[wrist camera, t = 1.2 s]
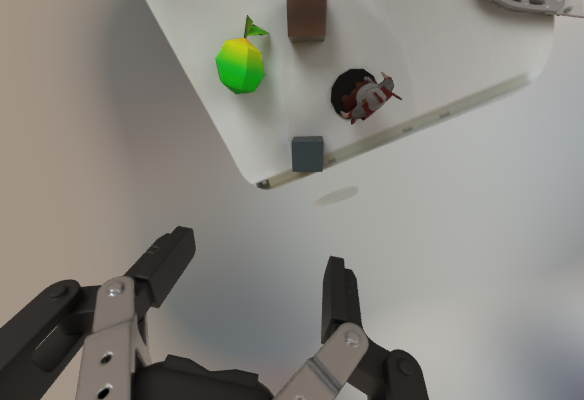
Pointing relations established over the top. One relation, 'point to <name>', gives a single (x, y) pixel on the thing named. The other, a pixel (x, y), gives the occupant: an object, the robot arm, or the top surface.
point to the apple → (241, 62)
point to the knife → (544, 7)
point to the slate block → (307, 154)
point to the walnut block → (306, 20)
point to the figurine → (360, 94)
